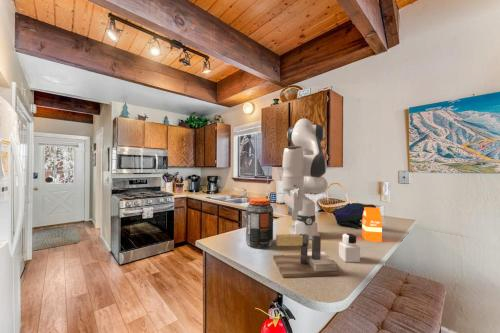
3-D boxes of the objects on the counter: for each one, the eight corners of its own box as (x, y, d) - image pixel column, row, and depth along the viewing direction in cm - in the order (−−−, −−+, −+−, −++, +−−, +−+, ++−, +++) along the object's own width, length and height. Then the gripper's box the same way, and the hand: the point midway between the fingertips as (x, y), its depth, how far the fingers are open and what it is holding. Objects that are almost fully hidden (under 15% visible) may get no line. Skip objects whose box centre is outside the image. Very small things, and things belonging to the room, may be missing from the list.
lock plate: (273, 258, 104) (273, 228, 104) (320, 257, 107) (321, 228, 107) (282, 277, 86) (283, 241, 86) (339, 275, 89) (340, 240, 89)
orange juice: (381, 242, 130) (382, 209, 130) (366, 240, 132) (366, 208, 132) (376, 237, 138) (377, 206, 138) (362, 236, 140) (362, 206, 140)
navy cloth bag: (339, 234, 173) (381, 229, 162) (334, 229, 153) (382, 222, 141) (333, 209, 183) (372, 203, 171) (328, 201, 162) (372, 193, 151)
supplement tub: (256, 237, 135) (257, 196, 135) (278, 243, 125) (278, 199, 125) (239, 244, 122) (240, 199, 123) (262, 251, 113) (262, 202, 113)
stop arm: (306, 242, 99) (306, 233, 99) (310, 245, 95) (310, 236, 95) (275, 243, 97) (275, 234, 97) (277, 246, 93) (278, 237, 93)
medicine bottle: (352, 256, 109) (352, 232, 109) (360, 262, 101) (360, 237, 102) (338, 256, 108) (338, 232, 108) (345, 262, 101) (345, 236, 101)
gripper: (307, 186, 79) (306, 224, 79) (294, 182, 100) (294, 212, 99) (290, 186, 79) (289, 224, 79) (281, 182, 99) (280, 212, 99)
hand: (292, 217), depth 89 cm, fingers open, 7 cm apart
